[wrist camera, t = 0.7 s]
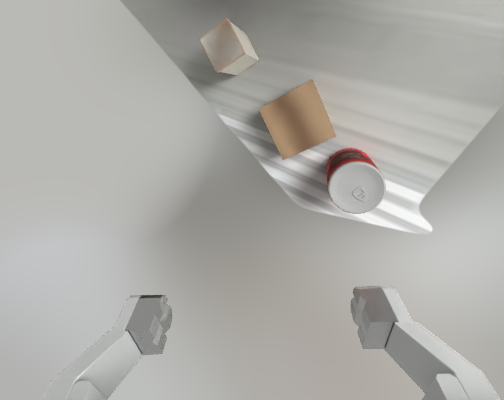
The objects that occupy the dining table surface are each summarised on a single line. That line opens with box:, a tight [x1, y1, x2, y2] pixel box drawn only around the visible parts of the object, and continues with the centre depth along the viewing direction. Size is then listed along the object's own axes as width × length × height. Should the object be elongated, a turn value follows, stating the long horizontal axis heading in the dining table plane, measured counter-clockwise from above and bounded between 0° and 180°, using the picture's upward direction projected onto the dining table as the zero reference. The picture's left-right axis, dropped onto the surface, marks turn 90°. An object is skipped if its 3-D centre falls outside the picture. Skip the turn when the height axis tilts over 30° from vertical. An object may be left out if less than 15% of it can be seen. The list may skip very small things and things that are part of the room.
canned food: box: [327, 148, 386, 214], centre depth 42 cm, size 8×8×11 cm
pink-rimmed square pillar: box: [199, 18, 259, 75], centre depth 40 cm, size 5×5×10 cm
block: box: [259, 80, 336, 160], centre depth 44 cm, size 9×9×6 cm
